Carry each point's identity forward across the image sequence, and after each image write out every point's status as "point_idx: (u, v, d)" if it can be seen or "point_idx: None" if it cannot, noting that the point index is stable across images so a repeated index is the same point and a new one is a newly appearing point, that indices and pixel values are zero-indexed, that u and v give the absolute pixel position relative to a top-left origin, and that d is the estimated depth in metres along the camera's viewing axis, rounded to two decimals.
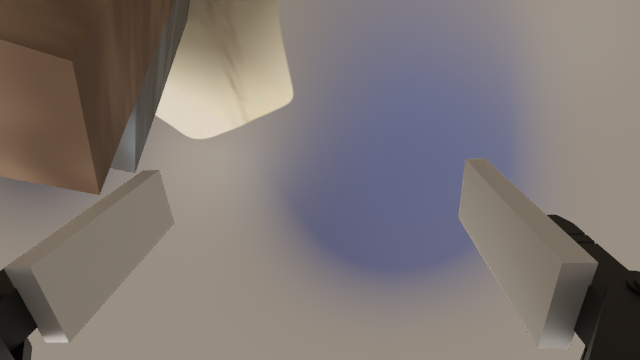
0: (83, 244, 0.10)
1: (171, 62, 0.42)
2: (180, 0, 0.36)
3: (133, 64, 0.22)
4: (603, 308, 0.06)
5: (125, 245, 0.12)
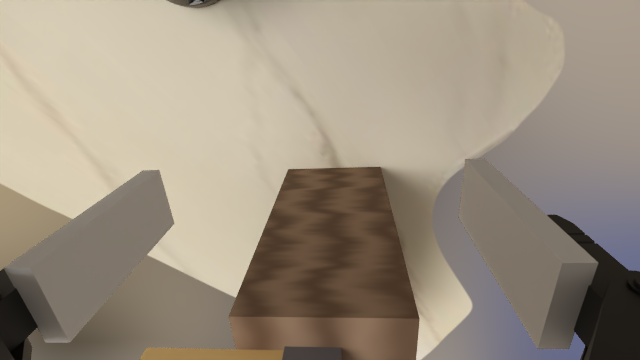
0: (83, 244, 0.10)
1: None
2: None
3: None
4: (603, 308, 0.06)
5: (125, 245, 0.12)
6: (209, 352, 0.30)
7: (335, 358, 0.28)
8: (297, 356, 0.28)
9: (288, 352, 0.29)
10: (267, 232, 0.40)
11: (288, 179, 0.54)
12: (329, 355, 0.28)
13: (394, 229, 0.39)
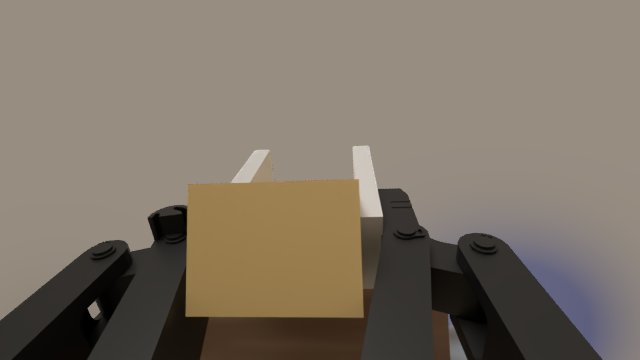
0: None
1: None
2: None
3: None
4: (379, 256, 0.08)
5: None
6: None
7: None
8: None
9: None
10: None
11: None
12: None
13: None
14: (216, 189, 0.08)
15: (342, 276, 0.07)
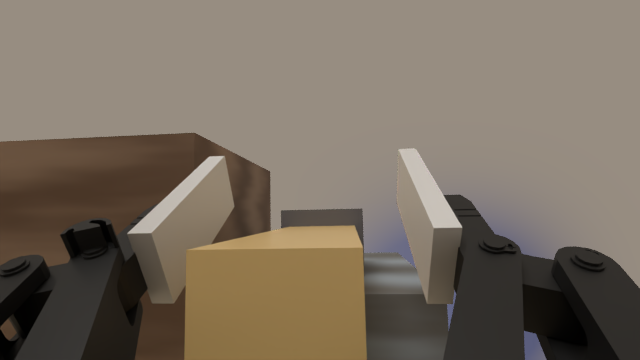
0: (180, 217, 0.11)
1: None
2: None
3: None
4: (462, 268, 0.08)
5: (205, 222, 0.13)
6: None
7: None
8: None
9: None
10: None
11: None
12: None
13: None
14: (215, 254, 0.07)
15: (346, 349, 0.07)
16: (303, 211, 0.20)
